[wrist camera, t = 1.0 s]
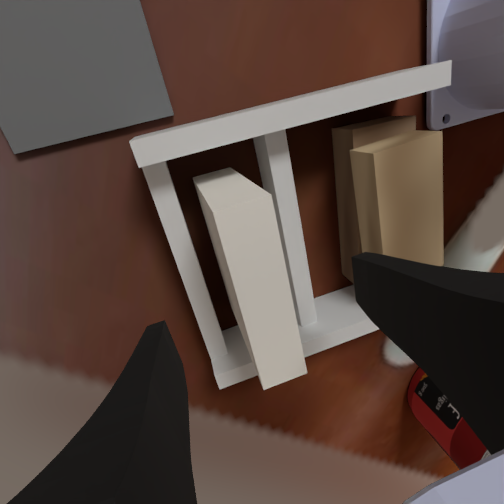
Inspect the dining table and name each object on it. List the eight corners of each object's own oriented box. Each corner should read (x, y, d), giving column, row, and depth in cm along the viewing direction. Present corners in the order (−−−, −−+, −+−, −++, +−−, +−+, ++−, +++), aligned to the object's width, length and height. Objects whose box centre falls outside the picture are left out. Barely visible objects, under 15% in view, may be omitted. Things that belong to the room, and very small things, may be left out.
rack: (398, 70, 17) (451, 59, 14) (404, 279, 23) (443, 304, 20) (134, 136, 15) (129, 141, 12) (210, 348, 21) (219, 389, 18)
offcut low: (384, 116, 19) (416, 115, 16) (386, 257, 22) (411, 273, 20) (328, 128, 18) (352, 129, 16) (339, 271, 22) (360, 289, 19)
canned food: (479, 326, 27) (666, 447, 17) (481, 391, 30) (638, 522, 20) (397, 367, 26) (543, 518, 16) (409, 428, 30) (535, 584, 20)
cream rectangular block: (229, 167, 17) (271, 194, 11) (261, 294, 20) (307, 373, 14) (192, 177, 17) (212, 212, 10) (230, 305, 20) (263, 390, 14)
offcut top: (411, 130, 17) (442, 131, 15) (417, 252, 19) (443, 265, 18) (349, 150, 16) (373, 153, 14) (364, 271, 19) (386, 287, 17)
